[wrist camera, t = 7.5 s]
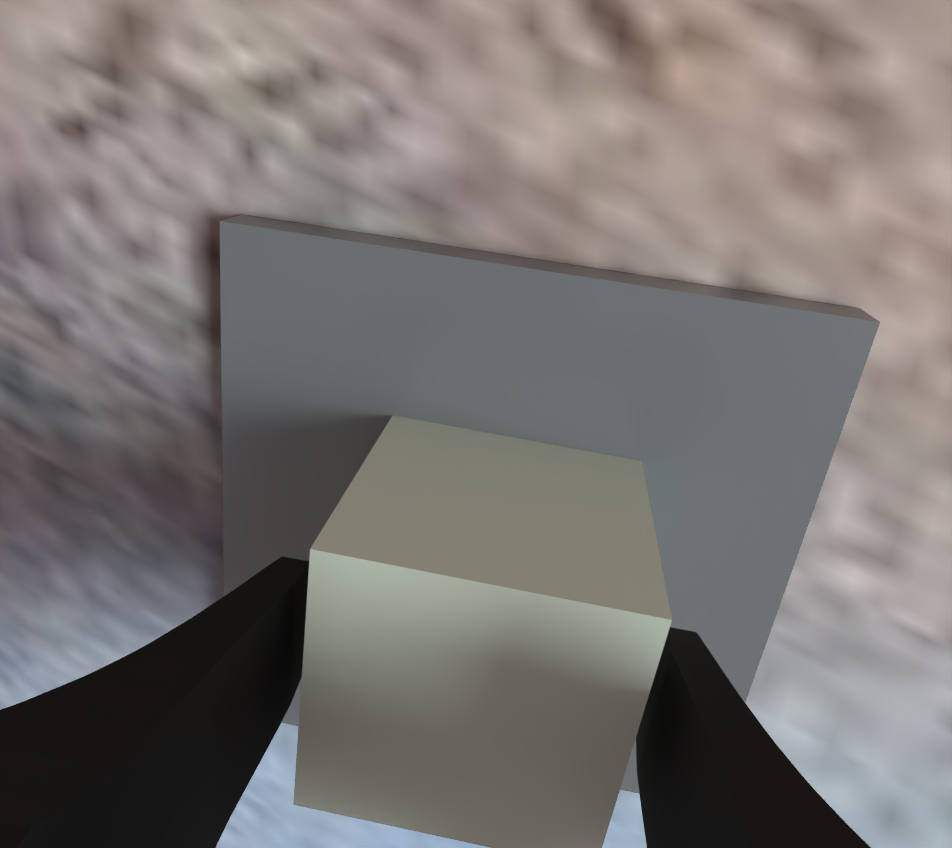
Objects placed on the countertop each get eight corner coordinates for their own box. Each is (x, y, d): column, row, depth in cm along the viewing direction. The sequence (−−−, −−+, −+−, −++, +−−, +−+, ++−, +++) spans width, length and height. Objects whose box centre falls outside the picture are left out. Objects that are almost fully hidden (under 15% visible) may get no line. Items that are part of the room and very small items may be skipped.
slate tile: (241, 682, 19) (224, 711, 18) (241, 214, 15) (219, 221, 14) (701, 773, 19) (708, 807, 18) (860, 308, 14) (880, 321, 13)
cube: (370, 616, 17) (293, 804, 12) (392, 415, 15) (310, 548, 10) (589, 660, 16) (594, 870, 12) (641, 460, 14) (671, 619, 10)
